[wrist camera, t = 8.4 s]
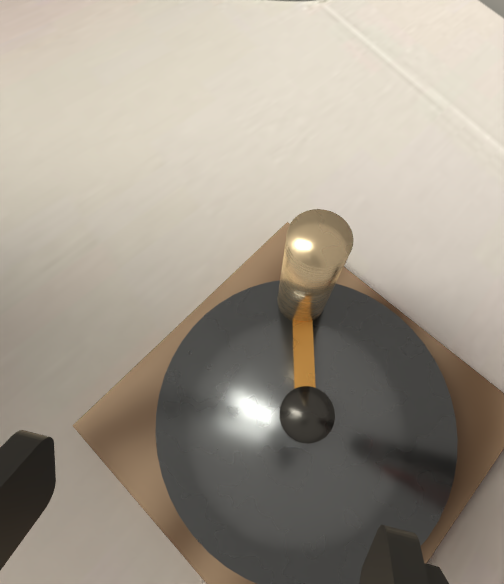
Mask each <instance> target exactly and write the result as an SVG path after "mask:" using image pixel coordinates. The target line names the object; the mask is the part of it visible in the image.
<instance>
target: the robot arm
mask: <svg viewBox="0 0 504 584" xmlns="http://www.w3.org/2000/svg"><path fill="white" fill-rule="evenodd" d="M55 482H56V478H55V456H54V441H53V439H52V438H51V437H47V436H44V435H40V434H36V433H32V432H28V431H24V430H21V431H18V432H16V433H15V434H14V435H13V436H12V437H11V438H10V439H9V440H8V441H7V442H6V443H5V444H4V445H3V446H2V447H1V448H0V570H1V569H2V567H3V566H4V565H5V563H6V562H7V561H8V559H9V558H10V556H11V555H12V554H13V552H14V551H15V550H16V548H17V547H18V545H19V544H20V543H21V541H22V540H23V539H24V537H25V536H26V534H27V533H28V532H29V530H30V529H31V528H32V526H33V525H34V523H35V522H36V521H37V519H38V518H39V516H40V515H41V514H42V512H43V511H44V510H45V508H46V507H47V505H48V503H49V501H50V499H51V497H52V494H53V491H54V488H55ZM360 584H449V583H448V581H447V580H446V578H445V576H444V575H443V573H442V571H441V570H440V568H439V567H437V566H433V565H429V564H425V563H424V559H423V555H422V550H421V546H420V542H419V539H418V537H417V535H416V534H415V533H413V532H409V531H405V530H401V529H397V528H394V527H390V526H386V525H380V526H379V528H378V530H377V533H376V535H375V537H374V540H373V542H372V544H371V547H370V549H369V552H368V554H367V556H366V559H365V561H364V564H363V566H362V570H361V576H360Z"/></svg>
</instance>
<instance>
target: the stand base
mask: <svg viewBox="0 0 504 584" xmlns="http://www.w3.org/2000/svg"><path fill="white" fill-rule="evenodd" d="M289 225H290V224H289V223H288V222H287V223H286V224H285V225H284V226H283V227H282V228H281V229H280V230H279V231H277V232H276V233H275V234H274V235H273V236H272V237H271V238H270V239H269V240H268V241H267V242H266V243H265V244H264V245H263V246H262V247H261V248H260V249H258V250H257V251H256V252H255V253H254V254H253V255H252V256H251V257H250V258H249V259H248V260H247V261H246V262H245V263H244V264H243V265H242V266H241V267H239V268H238V269H237V270H236V271H235V272H234V273H233V274H232V275H231V276H230V277H229V278H228V279H227V280H226V281H225V282H224V283H223V284H222V285H220V286H219V287H218V288H217V289H216V290H215V291H214V292H213V293H212V294H211V295H210V296H209V297H208V298H207V299H206V300H205V301H204V302H203V303H202V304H200V305H199V306H198V307H197V308H196V309H195V310H194V311H193V312H192V313H191V314H190V315H189V316H188V317H187V318H186V319H185V320H184V321H183V322H181V323H180V324H179V325H178V326H177V327H176V328H175V329H174V330H173V331H172V332H171V333H170V334H169V335H168V336H167V337H166V338H165V339H164V340H162V341H161V342H160V343H159V344H158V345H157V346H156V347H155V348H154V349H153V350H152V351H151V352H150V353H149V354H148V355H147V356H146V357H145V358H143V359H142V360H141V361H140V362H139V363H138V364H137V365H136V366H135V367H134V368H133V369H132V370H131V371H130V372H129V373H128V374H127V375H126V376H124V377H123V378H122V379H121V380H120V381H119V382H118V383H117V384H116V385H115V386H114V387H113V388H112V389H111V390H110V391H109V392H108V393H107V394H106V395H104V396H103V397H102V398H101V399H100V400H99V401H98V402H97V403H96V404H95V405H94V406H93V407H92V408H91V409H90V410H89V411H88V412H87V413H85V414H84V415H83V416H82V417H81V418H80V419H79V420H78V421H77V422H76V423H75V424H74V425H73V427H74V428H75V429H76V430H77V432H78V433H79V434H80V435H81V436H82V437H83V439H84V440H85V441H86V442H87V443H88V445H89V446H90V447H91V448H92V449H93V450H94V452H95V453H96V454H97V455H98V456H99V457H100V459H101V460H102V461H103V462H104V463H105V465H106V466H107V467H108V468H109V469H110V470H111V472H112V473H113V474H114V475H115V476H116V477H117V479H118V480H119V481H120V482H121V483H122V485H123V486H124V487H125V488H126V489H127V490H128V492H129V493H130V494H131V495H132V496H133V497H134V499H135V500H136V501H137V502H138V503H139V505H140V506H141V507H142V508H143V509H144V510H145V512H146V513H147V514H148V515H149V516H150V517H151V519H152V520H153V521H154V522H155V523H156V525H157V526H158V527H159V528H160V529H161V530H162V532H163V533H164V534H165V535H166V536H167V537H168V539H169V540H170V541H171V542H172V543H173V544H174V546H175V547H176V548H177V549H178V550H179V552H180V553H181V554H182V555H183V556H184V557H185V559H186V560H187V561H188V562H189V563H190V564H191V566H192V567H193V568H194V569H195V570H196V572H197V573H198V574H199V575H200V576H201V577H202V579H203V580H204V581H205V582H206V583H207V584H257V583H254V582H252V581H249V580H247V579H245V578H243V577H242V576H240V575H238V574H237V573H235V572H233V571H232V570H230V569H229V568H227V567H225V566H224V565H223V564H222V563H221V562H219V561H218V560H217V559H216V558H214V557H213V556H212V555H211V554H210V553H208V552H207V550H206V549H205V548H204V547H203V546H202V545H201V544H200V543H199V542H198V541H197V540H196V539H195V537H194V536H193V535H192V534H191V532H190V531H189V529H188V528H187V527H186V525H185V524H184V522H183V521H182V519H181V518H180V516H179V514H178V512H177V511H176V509H175V507H174V505H173V503H172V501H171V499H170V497H169V494H168V491H167V489H166V486H165V483H164V480H163V478H162V474H161V469H160V465H159V460H158V456H157V446H156V436H155V432H156V411H157V405H158V398H159V393H160V390H161V386H162V383H163V379H164V376H165V373H166V371H167V369H168V366H169V364H170V362H171V359H172V357H173V355H174V354H175V352H176V350H177V349H178V347H179V345H180V343H181V342H182V340H183V339H184V338H185V337H186V335H187V334H188V333H189V331H190V330H191V329H192V327H193V326H194V325H195V324H196V323H197V322H198V321H199V320H200V319H201V318H202V317H203V316H204V315H205V314H206V313H208V312H209V311H210V310H212V309H213V308H214V307H215V306H217V305H218V304H219V303H221V302H222V301H224V300H226V299H227V298H229V297H231V296H232V295H234V294H236V293H239V292H241V291H243V290H245V289H248V288H250V287H253V286H256V285H260V284H263V283H266V282H272V281H278V280H280V277H281V270H282V263H283V256H284V250H285V243H286V236H287V230H288V228H289ZM336 284H339V285H343V286H346V287H349V288H352V289H354V290H357V291H359V292H361V293H363V294H365V295H368V296H369V297H371V298H373V299H375V300H376V301H378V302H380V303H381V304H383V305H384V306H386V307H387V308H388V309H390V310H391V311H392V312H394V313H395V314H396V315H398V316H399V317H400V318H401V319H402V320H403V321H404V322H405V323H406V324H407V325H408V326H409V327H410V328H411V329H412V330H413V331H414V332H415V333H416V334H417V336H418V337H419V338H420V339H421V340H422V342H423V343H424V344H425V346H426V347H427V349H428V350H429V352H430V353H431V355H432V356H433V358H434V359H435V361H436V363H437V365H438V367H439V369H440V371H441V373H442V375H443V377H444V380H445V382H446V385H447V388H448V391H449V393H450V396H451V400H452V404H453V409H454V413H455V418H456V427H457V437H458V443H457V463H456V470H455V476H454V481H453V485H452V488H451V492H450V495H449V498H448V501H447V504H446V506H445V508H444V510H443V512H442V515H441V517H440V519H439V521H438V523H437V524H436V526H435V527H434V529H433V530H432V532H431V533H430V535H429V537H428V538H427V539H426V541H425V542H424V543H423V544H422V545H421V550H422V555H423V559H424V563H425V564H426V563H427V562H428V560H429V559H430V557H431V556H432V554H433V553H434V551H435V550H436V548H437V547H438V545H439V544H440V542H441V541H442V539H443V538H444V536H445V535H446V533H447V532H448V531H449V529H450V528H451V526H452V525H453V523H454V522H455V520H456V519H457V517H458V516H459V514H460V513H461V511H462V510H463V508H464V507H465V505H466V504H467V502H468V501H469V499H470V498H471V496H472V495H473V493H474V492H475V490H476V489H477V487H478V486H479V485H480V483H481V482H482V480H483V479H484V477H485V476H486V474H487V473H488V471H489V470H490V468H491V467H492V465H493V464H494V462H495V461H496V459H497V458H498V456H499V455H500V453H501V452H502V450H503V449H504V393H503V392H502V391H500V390H499V389H498V388H496V387H495V386H494V385H493V384H491V383H490V382H489V381H488V380H486V379H485V378H484V377H483V376H481V375H480V374H479V373H478V372H476V371H475V370H474V369H472V368H471V367H470V366H469V365H467V364H466V363H465V362H464V361H462V360H461V359H460V358H459V357H457V356H456V355H455V354H454V353H452V352H451V351H450V350H448V349H447V348H446V347H445V346H443V345H442V344H441V343H440V342H438V341H437V340H436V339H435V338H433V337H432V336H431V335H429V334H428V333H427V332H426V331H424V330H423V329H422V328H421V327H419V326H418V325H417V324H416V323H414V322H413V321H412V320H411V319H409V318H408V317H407V316H405V315H404V314H403V313H402V312H400V311H399V310H398V309H397V308H395V307H394V306H393V305H392V304H390V303H389V302H388V301H387V300H385V299H384V298H383V297H381V296H380V295H379V294H378V293H376V292H375V291H374V290H373V289H371V288H370V287H369V286H368V285H366V284H365V283H364V282H363V281H361V280H360V279H359V278H357V277H356V276H355V275H354V274H352V273H351V272H350V271H349V270H347V269H346V268H345V267H343V269H342V271H341V273H340V275H339V277H338V279H337V282H336Z"/></svg>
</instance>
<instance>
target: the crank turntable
mask: <svg viewBox="0 0 504 584" xmlns="http://www.w3.org/2000/svg"><path fill="white" fill-rule="evenodd" d="M352 246H353V234H352V231H351V229H350V227H349V225H348V224H347V222H346V221H345V220H344V219H343V218H342V217H340V216H339V215H337V214H335V213H333V212H331V211H327V210H321V209H315V210H309V211H306V212H303V213H301V214H300V215H298V216H297V217H296V218H295V219H294V220H293V221H292V222H291V223H290V225H289V228H288V230H287V236H286V243H285V250H284V256H283V263H282V270H281V277H280V280H278V281H272V282H266V283H263V284H260V285H256V286H253V287H250V288H248V289H245V290H243V291H241V292H239V293H236V294H234V295H232V296H231V297H229V298H227V299H226V300H224V301H222V302H221V303H219V304H218V305H217V306H215V307H214V308H213V309H212V310H210V311H209V312H208V313H206V314H205V315H204V316H203V317H202V318H201V319H200V320H199V321H198V322H197V323H196V324H195V325H194V326H193V327H192V329H191V330H190V331H189V333H188V334H187V335H186V337H185V338H184V339H183V340H182V342H181V343H180V345H179V347H178V349H177V350H176V352H175V354H174V355H173V357H172V359H171V362H170V364H169V366H168V369H167V371H166V373H165V376H164V379H163V383H162V386H161V390H160V393H159V398H158V405H157V411H156V432H155V436H156V446H157V456H158V460H159V465H160V469H161V474H162V478H163V480H164V483H165V486H166V489H167V491H168V494H169V497H170V499H171V501H172V503H173V505H174V507H175V509H176V511H177V512H178V514H179V516H180V518H181V519H182V521H183V522H184V524H185V525H186V527H187V528H188V529H189V531H190V532H191V534H192V535H193V536H194V537H195V539H196V540H197V541H198V542H199V543H200V544H201V545H202V546H203V547H204V548H205V549H206V550H207V552H208V553H210V554H211V555H212V556H213V557H214V558H216V559H217V560H218V561H219V562H221V563H222V564H223V565H224V566H225V567H227V568H229V569H230V570H232V571H233V572H235V573H237V574H238V575H240V576H242V577H243V578H245V579H247V580H249V581H252V582H254V583H257V584H360V576H361V570H362V566H363V564H364V561H365V559H366V556H367V554H368V552H369V549H370V547H371V544H372V542H373V540H374V537H375V535H376V533H377V530H378V528H379V526H380V525H386V526H390V527H394V528H397V529H401V530H405V531H409V532H413V533H415V534H416V535H417V537H418V539H419V542H420V546H421V545H422V544H423V543H424V542H425V541H426V539H427V538H428V537H429V535H430V533H431V532H432V530H433V529H434V527H435V526H436V524H437V523H438V521H439V519H440V517H441V515H442V512H443V510H444V508H445V506H446V504H447V501H448V498H449V495H450V492H451V488H452V485H453V481H454V476H455V470H456V463H457V443H458V437H457V427H456V418H455V413H454V409H453V404H452V400H451V396H450V393H449V391H448V388H447V385H446V382H445V380H444V377H443V375H442V373H441V371H440V369H439V367H438V365H437V363H436V361H435V359H434V358H433V356H432V355H431V353H430V352H429V350H428V349H427V347H426V346H425V344H424V343H423V342H422V340H421V339H420V338H419V337H418V336H417V334H416V333H415V332H414V331H413V330H412V329H411V328H410V327H409V326H408V325H407V324H406V323H405V322H404V321H403V320H402V319H401V318H400V317H399V316H398V315H396V314H395V313H394V312H392V311H391V310H390V309H388V308H387V307H386V306H384V305H383V304H381V303H380V302H378V301H376V300H375V299H373V298H371V297H369V296H368V295H365V294H363V293H361V292H359V291H357V290H354V289H352V288H349V287H346V286H343V285H339V284H336V282H337V279H338V277H339V275H340V273H341V271H342V269H343V267H344V265H345V262H346V260H347V258H348V256H349V254H350V252H351V250H352Z"/></svg>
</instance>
